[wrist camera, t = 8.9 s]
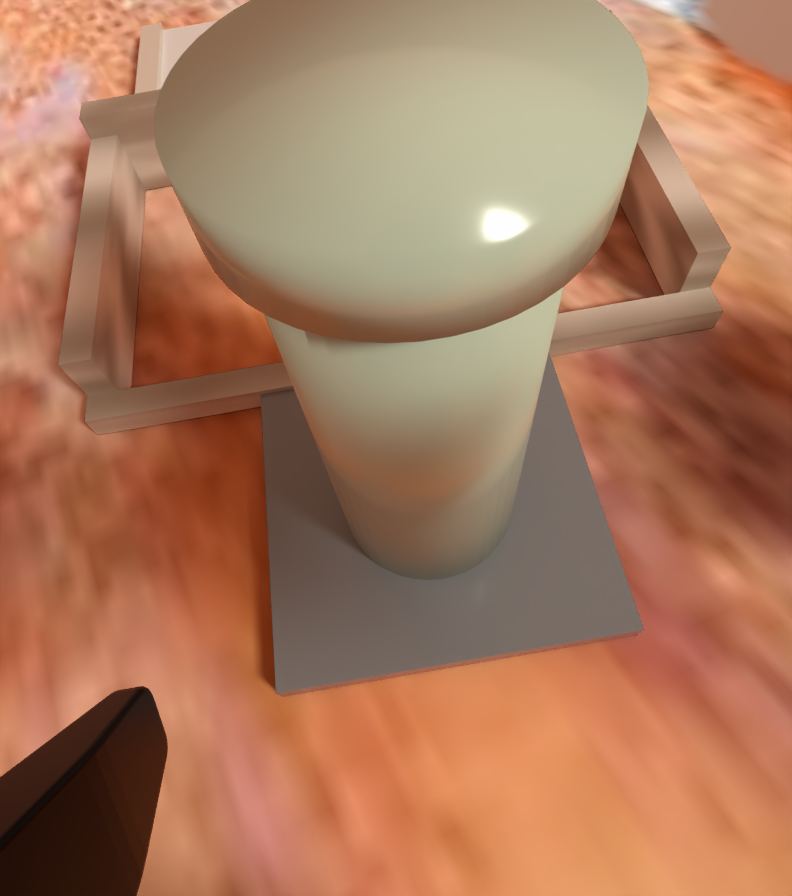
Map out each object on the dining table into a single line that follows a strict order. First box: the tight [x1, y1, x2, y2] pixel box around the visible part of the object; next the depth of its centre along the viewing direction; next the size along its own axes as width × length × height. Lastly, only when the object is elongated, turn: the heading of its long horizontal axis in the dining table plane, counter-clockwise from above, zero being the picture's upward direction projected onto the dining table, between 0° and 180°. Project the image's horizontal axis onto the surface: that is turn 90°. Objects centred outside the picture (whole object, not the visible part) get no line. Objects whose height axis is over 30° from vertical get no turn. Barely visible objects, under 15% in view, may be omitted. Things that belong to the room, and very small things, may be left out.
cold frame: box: [58, 10, 731, 435], centre depth 26 cm, size 15×24×4 cm, turn 99°
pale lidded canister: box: [153, 0, 649, 580], centre depth 14 cm, size 7×7×14 cm
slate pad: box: [260, 352, 644, 697], centre depth 21 cm, size 11×11×1 cm
